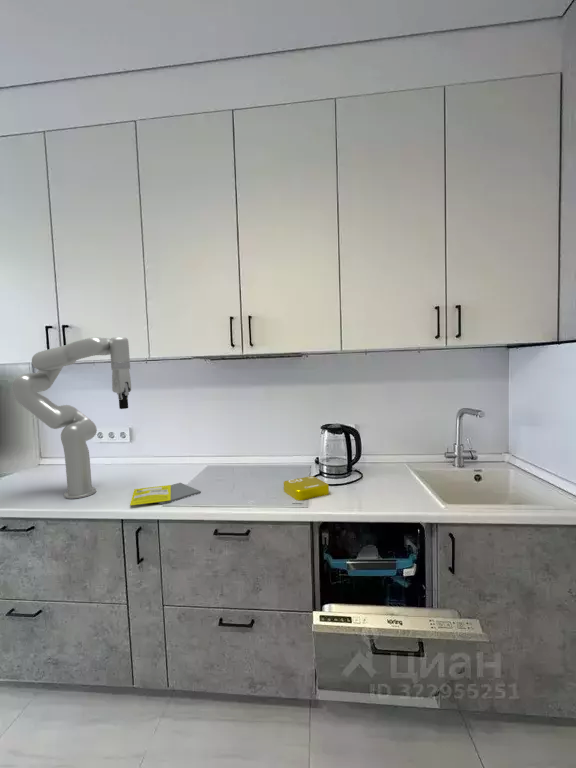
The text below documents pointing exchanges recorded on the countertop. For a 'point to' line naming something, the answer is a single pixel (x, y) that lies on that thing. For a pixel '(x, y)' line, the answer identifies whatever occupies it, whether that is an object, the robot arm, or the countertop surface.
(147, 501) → the food package
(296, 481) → the element tile
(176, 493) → the mat
